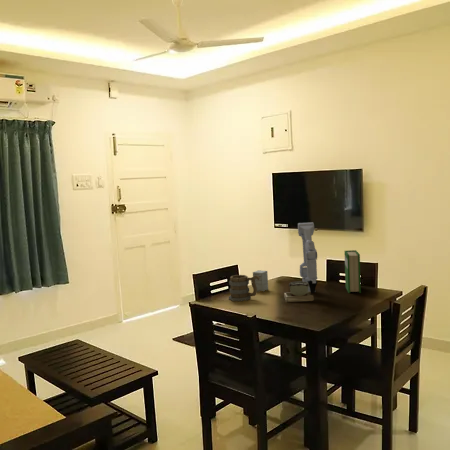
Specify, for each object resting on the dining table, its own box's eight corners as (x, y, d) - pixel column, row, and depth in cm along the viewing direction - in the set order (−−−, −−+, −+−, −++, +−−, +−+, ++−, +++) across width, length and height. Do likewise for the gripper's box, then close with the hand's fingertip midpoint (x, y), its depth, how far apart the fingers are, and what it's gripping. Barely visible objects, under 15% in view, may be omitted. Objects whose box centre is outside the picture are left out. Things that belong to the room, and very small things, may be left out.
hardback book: (360, 292, 298) (359, 254, 296) (348, 293, 299) (347, 254, 297) (357, 286, 315) (356, 250, 313) (345, 286, 316) (344, 250, 314)
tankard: (226, 300, 296) (225, 276, 295) (234, 295, 307) (233, 272, 306) (256, 302, 287) (255, 277, 286) (264, 297, 299) (263, 273, 297)
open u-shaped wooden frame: (284, 297, 296) (284, 292, 296) (310, 296, 296) (310, 291, 295) (286, 301, 285) (286, 296, 285) (313, 300, 285) (313, 295, 284)
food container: (310, 297, 293) (309, 281, 292) (309, 299, 287) (309, 283, 286) (290, 297, 296) (289, 281, 295) (289, 299, 290) (288, 283, 289)
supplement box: (259, 288, 324) (258, 270, 323) (268, 289, 320) (267, 270, 319) (253, 290, 318) (252, 272, 317) (262, 291, 314) (261, 272, 313)
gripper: (303, 268, 296) (304, 290, 297) (307, 273, 281) (308, 295, 283) (314, 268, 296) (315, 289, 297) (319, 272, 281) (320, 295, 283)
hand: (312, 292), depth 290 cm, fingers closed
